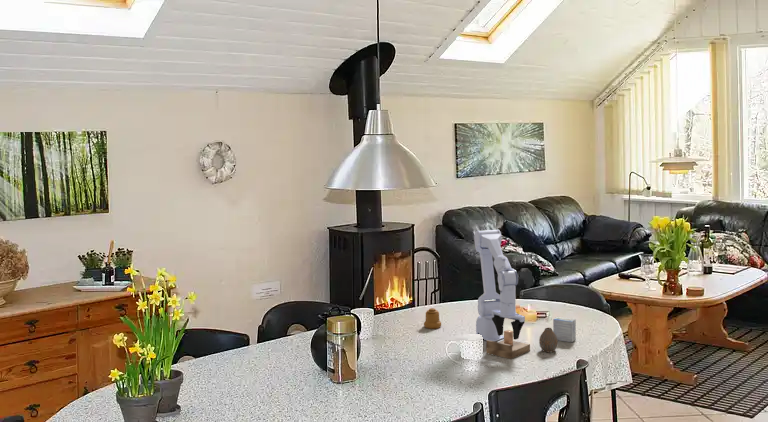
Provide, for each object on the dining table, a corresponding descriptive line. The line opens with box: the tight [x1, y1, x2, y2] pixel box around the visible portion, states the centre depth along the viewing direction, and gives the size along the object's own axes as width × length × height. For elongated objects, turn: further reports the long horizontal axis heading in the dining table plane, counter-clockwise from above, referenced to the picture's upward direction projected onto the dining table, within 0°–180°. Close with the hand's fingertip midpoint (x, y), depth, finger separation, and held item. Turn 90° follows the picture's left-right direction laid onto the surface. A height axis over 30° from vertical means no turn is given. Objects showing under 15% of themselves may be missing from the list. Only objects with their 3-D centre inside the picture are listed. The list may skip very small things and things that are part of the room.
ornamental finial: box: [423, 307, 442, 330], centre depth 336 cm, size 8×8×8 cm
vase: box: [538, 327, 559, 353], centre depth 298 cm, size 7×7×9 cm
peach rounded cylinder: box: [503, 329, 514, 346], centre depth 298 cm, size 3×3×6 cm
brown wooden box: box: [485, 339, 531, 360], centre depth 298 cm, size 11×13×5 cm
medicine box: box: [552, 316, 577, 343], centre depth 312 cm, size 8×4×9 cm, turn 58°
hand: (508, 337), depth 298 cm, fingers open, 7 cm apart
